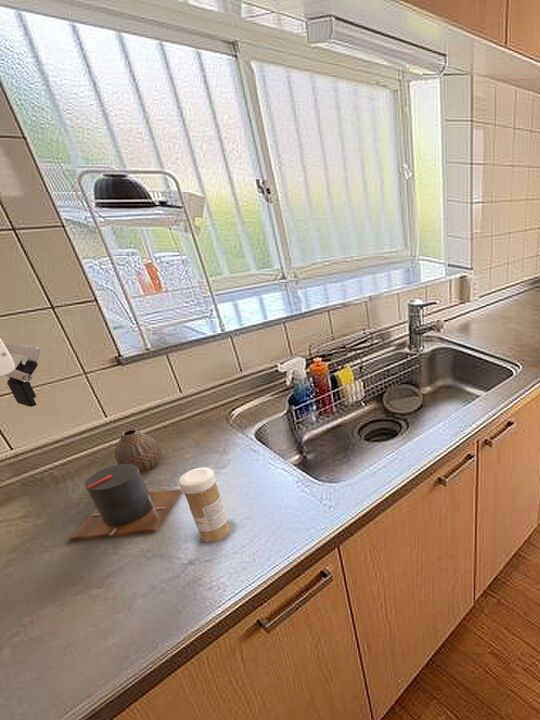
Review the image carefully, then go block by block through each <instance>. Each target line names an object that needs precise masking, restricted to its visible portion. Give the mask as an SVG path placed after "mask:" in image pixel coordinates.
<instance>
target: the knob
mask: <svg viewBox="0 0 540 720" xmlns="http://www.w3.org/2000/svg"><path fill="white" fill-rule="evenodd" d="M141 473H142V472H140V471H139V469H138V467H137V466H136V465H133V464H114V465H111V466H107V467H105V468H103V469H101V470H99V471H96V472H95V473H93V474H92V475H90V476H89V477H88V478H87V479H86V480H85V483H84V487H85V489H86V490H87V493H88V494H89V497H90V498H91V500H92V502H93V504H94V506H95V509H96V508H97V510H98V512H99V513H100V515H101V517H102V519H103V521H104V523H105V524H107V525H110V526H120V525H125V524H128V523H131V522H134V521H136V520H138V519H140V518H142V517H143V516H145V515H146V514H147V513H148V512H149V511H150V510H151V509H152V507H153V501H152V498H151V496H150V494H149V492H150V491H149V489H148V487H147V485H146V483H145V480H144V478H143V476H142V474H141Z"/></svg>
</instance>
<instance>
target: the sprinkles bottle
mask: <svg viewBox="0 0 540 720" xmlns="http://www.w3.org/2000/svg"><path fill="white" fill-rule="evenodd" d="M178 485H179V489H180V490H181V491H182V493H183V494H184V496H185V499H186V501H187V504H188V508H189V509H190V513H191V515H192V518H193V520H194V523H195V526H196V528H197V531H198V533H199V535H200V538H201V541H202V542H204V543H215V542H219V541H220V540H223V539H224V538H226V537H227V536H228V535H229V534H230V532H231V530H232V528H231V524H230V522H229V519H228V514H227V511H226V508H225V504H224V501H223V499H222V496H221V493H220V491H219V488H218V485H217V479H216V475H215V473H214V470H213V469H211V468H209V467H197V468H194V469H190V470H188V471H186V472H184V473H183V474H182V475H181V476H180V477H179V479H178Z"/></svg>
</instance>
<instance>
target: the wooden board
mask: <svg viewBox="0 0 540 720" xmlns="http://www.w3.org/2000/svg"><path fill="white" fill-rule="evenodd" d="M182 493H183V492H182V490H181V489H172V490H161V491H160V490H159V491H151V492H150V491H149V494H150V496H151V498H152V501H153V507H152V509H151V510H150V511H149V512H148V513H147V514H146V515H145V516H143V517H142V518H140V519H138V520H136V521H134V522H131V523H128V524H125V525H120V526H110V525H107V524H105V523H104V521H103V519H102V517H101V515H100V513H99V512H98V510H97V508H96V507H95V509H93V511H92V512H91V513H90V514H89V515H88V517H87V518H86V519H85V520H84V521H83V523H81V525H80V526H79V527H78V528H77V529H76V530H75V531H74V532H73V533H72V535H71V536H70V537H69V540H70V542H75V541H83V540H92V539H101V538H109V537H118V536H128V535H136V534H137V535H138V534H146V533H155V532H156V531H157V530H158V529H159V527H160V526H161V524H162V523H163V521H164V520H165V518H166V517H167V515H168V514H169V512H170V511H171V509H172V508H173V506H174V505H175V503H176V502H177V501H178V499H179V497H180V496H181V494H182Z"/></svg>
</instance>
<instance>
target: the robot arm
mask: <svg viewBox="0 0 540 720" xmlns="http://www.w3.org/2000/svg"><path fill="white" fill-rule="evenodd" d="M40 350H41V349H40V348H38V347H36V346H32V345H22V344H15V343H14V344H13V343H4V342H3V340H2V338H1V337H0V378H2V377H3V378H4V377H8V378H9V379H7V382H6V384H7V386H8V388H9V389H10V392H11V393H12V396H13V397H14V399H15V402H16V403H17V404H18V405H19V404H20V405H23V406H26V407H29V408H30V407H31V408H33V407H35V406H37V402H36V400H35V398H37V394H36V393H35V390H34V389H33V387H32V384H31V383H30V382H31V381H32V380H33V376H32V375H33V374H34V372H35V371H36V369H37V367H38V366H39V364H38V361H39V356H40ZM11 354H16V355H22V356H21V358H22V359H21V360H20V361H19V363H18V364H17V366H16V364H15V362H14V361H15V360H14V358H13V357H12V355H11Z"/></svg>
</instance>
